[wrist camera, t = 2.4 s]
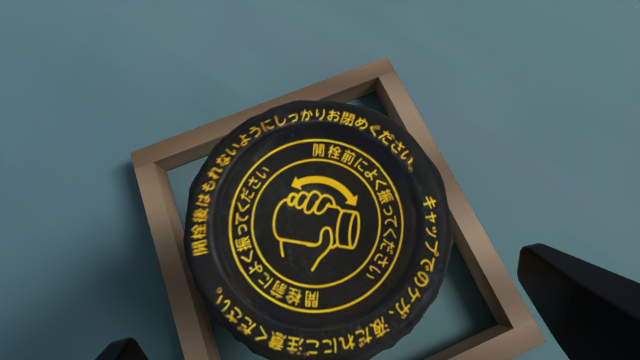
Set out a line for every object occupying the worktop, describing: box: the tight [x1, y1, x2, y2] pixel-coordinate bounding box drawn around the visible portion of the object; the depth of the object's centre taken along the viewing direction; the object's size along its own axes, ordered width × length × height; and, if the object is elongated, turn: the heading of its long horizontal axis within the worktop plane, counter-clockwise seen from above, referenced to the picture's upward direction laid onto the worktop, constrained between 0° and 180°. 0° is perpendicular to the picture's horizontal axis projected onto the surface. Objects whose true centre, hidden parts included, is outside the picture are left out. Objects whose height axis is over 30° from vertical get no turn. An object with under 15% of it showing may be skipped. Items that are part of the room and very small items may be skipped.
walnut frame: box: [130, 57, 546, 360], centre depth 17 cm, size 16×15×2 cm
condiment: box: [183, 100, 454, 360], centre depth 12 cm, size 7×8×12 cm
